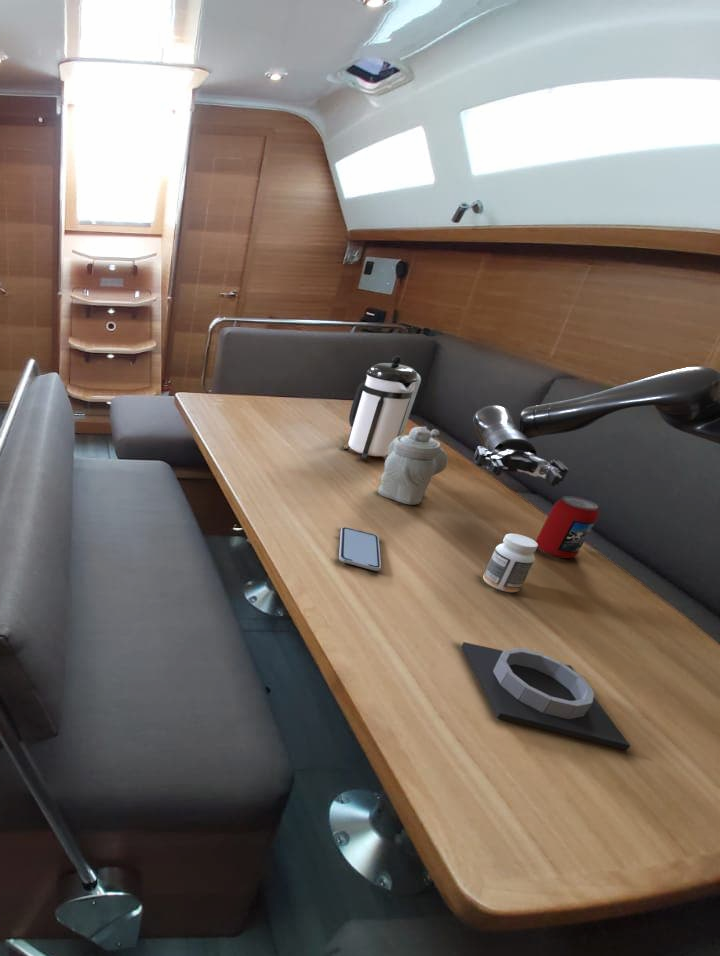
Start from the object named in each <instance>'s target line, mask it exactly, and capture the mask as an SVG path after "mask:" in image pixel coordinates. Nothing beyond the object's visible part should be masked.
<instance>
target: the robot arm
mask: <svg viewBox="0 0 720 956" xmlns="http://www.w3.org/2000/svg"><path fill="white" fill-rule="evenodd" d="M647 406H654V408H655V410H656V411H657V413H658V414H659V416H660V418H661V419H662V420H663V421H664V422H665V423H666V424H667V425H668V426H670V427H672V428H673V429H675V430H678V431H681V432H683V433H686V434H689V435H692V436H696V437H698V438H700V439H704V440H707V441H709V442H713V443H715V444H718V445H720V370H718V369H716V368H714V367H711V366H705V365H702V366H688V367H683V368H679V369H674V370H670V371H666V372H661V373H658V374H655V375H652V376H649V377H645V378H641V379H638V380H634V381H632V382H627V383H624V384H621V385H618V386H615V387H612V388H609V389H605V390H602V391H598V392H595V393H591V394H588V395H583V396H580V397H575V398H570V399H566V400H561V401H559V400H558V401H554V402H548V403H543V404H538V405H537V404H536V405H531V406H528V407H525V408H524V409H523V410H522V411H521V412H520V415H519V428H518V427H517V426H516V424H515V423H514V420H513V418H512V415H511V414H510V411H509V410H508V408H506V407H504V406H502V405H488V406H484V407H482V408H480V409H479V410H477V411H476V412H475V413H474V414H473V417H472V424H473V426H474V429H475V432H476V434H477V436H478V439H479V442H480V444H481V445H482V446H481V445H478V446H477V447H476V449H475V452H474V455H473V462H474V465H475V466H477V467H483V466H485V468H486V469H488V470H489V471H490V472H491V473H493V474H494V476H497V477H500V476H501V474H502V472H506V473H516V472H517V473H518V472H519V473H525V474H527V475H529V476H532V477H534V478H539V477H540V478H542V479H544V480H545V481H546V483H547V484H548V486H550V487H555V486H556V485H559V484H560V482H564V481H565V479H566V477H567V475H568V473H569V472H570V469H569V468H568V467H567V466H566V465H565V464H564V463H563V462H562V461H561V460H559V459H556V458H552V459H551V460H550V461H548V460H546V459H543V458H541V457H539V456H538V454H537V453H538V452H537V449H536V447H535V446H534V444H533V443H532V442H531V441H530V439H532V438H537V437H542V436H550V435H557V434H566V433H571V432H575V431H579V430H581V429H585V428H586V427H589V426H590V425H592V424H594V423H596V422H598V421H600V420H601V419H603V418H605V417H607V416H609V415H611V414H615V413H616V412H619V411H622V410H626V409H630V408H636V407H647ZM545 470H546V471H545ZM545 472H546V473H545Z"/></svg>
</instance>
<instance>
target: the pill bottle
mask: <svg viewBox="0 0 720 956" xmlns="http://www.w3.org/2000/svg"><path fill="white" fill-rule="evenodd" d="M535 541H536V540H534V539H532V538H531V537H528V536H525V535H522V534H519V533H507V534H505V535H504V538H503V540H502V543H499V544H498V545H497V546H496V547H495V549H494V551H493V552H492V555H491V558H490V560H489V562H488V564H487V566H486V568H485V571H484V573H483V575H482V578H483V580H484V582H485V584H487V585H488V586H490V587H492V588H494V589H496V590H499V591H502V592H506V593H517V592H519V591H520V590H521V588H522V586H523V584H524V583H525V580H526V578H527V577H528V575H529V573H530V571H531V569H532V567H533V565H534V563H535V561H536V557H535V554H534V553H535V552H536V550H537V549H538V544H537V542H535Z"/></svg>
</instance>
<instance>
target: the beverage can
mask: <svg viewBox="0 0 720 956" xmlns="http://www.w3.org/2000/svg"><path fill="white" fill-rule="evenodd" d="M599 517H600V514H599V505H598V504H596V503H595V502H593V501H591V500H589V499H586V498H583V497H579V496H573V495H565V496H563V497H562V498H560V499H559V500H557V501H556V502H554V504H553V506H552V508H551V510H550V512H549V513H548V516H547V517H546V519H545V522H544V523H543V525H542V527H541V529H540V531H539V534H538V535H537V538H536V539H535V540H534V541H535V542H537V544H538V547H537V549H539V550H540V551H541V552H542V553H544V554H546V555H548V556H551V557H554V558H559V559H571V558H576V556H577V555H578V553H579V551H580V550H581V548H582V546H583V545H584V543H585V541H586V539H587V538H588V536H589V535H590V532H591V531H592V529H593V527H594V525H595V523H596V522H597V520H598V518H599Z"/></svg>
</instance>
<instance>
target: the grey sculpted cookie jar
mask: <svg viewBox="0 0 720 956" xmlns="http://www.w3.org/2000/svg"><path fill="white" fill-rule="evenodd" d="M439 435H440V431H439V430H438V429H435V428H433V429H432V430H431V431H430V430H429V429H428V427H427V426H415V427H413V428H411V429H410V431H409V433H408V434H401V435H400V436H398V437H397V438H396V439H394V440H393V441H392V442H391V444H390V445H389V447H388V457H387V456H386V459H385V461H384V471H383V472H382V475H381V478H380V485H379V487H378V488H379V489H378V494H379V495H380V496H382V497H384V498H388V499H390V500H393V501H397V502H399V503H402V504H405V505H410V506H414V505H419V504H420V503H421V502H422V499H423V497H424V496H425V494H426V491H427V488H428V487H429V485H430V483H431V482H430V481H431V479H432V477H434V476H435V475H438V474H440V473H442V472H444V471H445V469H446V468H447V464H448V454H447V452H446V451H445V450H444V448H442V447H441V445H442V444H441V442H440V441H438V440H436V439H435V438H436V437H437V436H439Z"/></svg>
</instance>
